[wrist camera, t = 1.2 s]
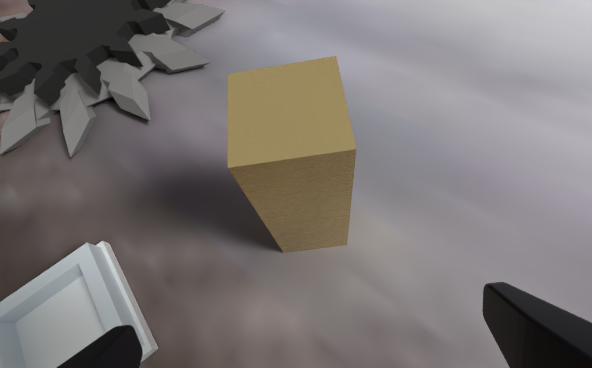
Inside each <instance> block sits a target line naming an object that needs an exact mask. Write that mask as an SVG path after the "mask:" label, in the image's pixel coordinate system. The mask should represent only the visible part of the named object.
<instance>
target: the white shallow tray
mask: <svg viewBox="0 0 592 368" xmlns="http://www.w3.org/2000/svg"><path fill="white" fill-rule="evenodd" d="M122 325H132V326H133V327H134V329H135V331H136V334H137V336H138V339H139V341H140V344H141V346H142V351H143V355H142V360H141V362H142V361H144V360H145V359H146V358H147V357H149V356H150V355H151V354H152V353H154V352H155V351H156V350H157V349H159V348H158V346H157V344H156V342H155V340H154V338H153V336H152V334H151V331H150V329H149V327H148V325H147V323H146V321H145V319H144V316H143V314H142V312H141V310H140V308H139V306H138V304H137V301H136V299H135V297H134V295H133V293H132V291H131V289H130V287H129V284H128V282H127V280H126V278H125V276H124V274H123V272H122V269H121V267H120V265H119V263H118V261H117V259H116V257H115V254H114V252H113V250H112V248H111V246H110V244H109V243H107V242H104V241H101V242H100V243H98V244H97V245H96V246H95V245H92V244H90V243H86V244H84V245H83V246H81V247H80V248H78V249H77V250H76V251H74V252H73V253H71V254H70V255H68V256H67V257H65V258H64V259H62V260H61V261H59V262H58V263H57V264H55V265H54V266H52V267H51V268H49V269H48V270H46V271H45V272H43V273H42V274H40V275H39V276H38V277H36V278H35V279H33V280H32V281H30V282H29V283H27V284H26V285H24V286H23V287H22V288H20V289H19V290H17V291H16V292H14V293H13V294H11V295H10V296H8V297H7V298H5V299H4V300H3V301H1V302H0V368H57V367H58V366H59V365H61V364H62V363H64V362H65V361H67V360H68V359H69V358H71V357H72V356H74V355H75V354H76V353H78V352H79V351H81V350H82V349H84V348H85V347H86V346H88V345H89V344H91V343H92V342H94V341H95V340H96V339H98V338H99V337H101V336H102V335H103V334H105V333H106V332H108V331H109V330H111V329H112V328H114V327H116V326H122Z"/></svg>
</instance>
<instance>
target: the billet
mask: <svg viewBox="0 0 592 368" xmlns="http://www.w3.org/2000/svg"><path fill="white" fill-rule="evenodd" d="M355 156H356V146H355V142H354V137H353V132H352V128H351V123H350V118H349V114H348V109H347V105H346V100H345V95H344V91H343V86H342V81H341V77H340V72H339V67H338V63H337V58H336V56H334V57H328V58H322V59H316V60H310V61H304V62H298V63H292V64H286V65H280V66H274V67H268V68H262V69H256V70H250V71H244V72H238V73H232V74H228V169H229V171H230V172H231V174H232V175H233V177H234V178H235V180H236V181H237V183H238V184H239V186H240V187H241V189H242V190H243V192H244V193H245V195H246V196H247V198H248V199H249V201H250V202H251V204H252V206H253V207H254V209H255V210H256V212H257V213H258V215H259V216H260V218H261V219H262V221H263V222H264V224H265V225H266V227H267V228H268V230H269V231H270V233H271V234H272V236H273V238H274V239H275V241H276V242H277V244H278V245H279V247H280V248H281V250H282V251H283V253H286V252H294V251H302V250H310V249H318V248H326V247H333V246H341V245H347V239H348V228H349V218H350V208H351V197H352V187H353V177H354V166H355Z"/></svg>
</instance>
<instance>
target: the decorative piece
mask: <svg viewBox="0 0 592 368" xmlns="http://www.w3.org/2000/svg"><path fill="white" fill-rule="evenodd" d="M186 1H187V0H28V3H29V5H30V6H31V7H32V8H33V9H34V10H33V11H32V12H31V13H29V14H28V15H26V13H25V12H24V13H20V14H15V15H11V16H6V17H2V18H0V33H1V34H2V35H3V36H4V37H5V38H6V39H8V40H10V41H11V42H1V43H0V112H3V111H7V110H10V112H9V114H8V117H7V119H6V121H5V123H4V125H3V128H2V132H1V147H0V154H2V153H5V152H7V151H10V150H12V149H15V148H17V147H20V146H21V145H22V144H23V143H25V142H26V141H27V140H29V139H30V138H31V137H33V136H34V135H35V134H37V133H38V132H39V131H41V130H42V129H43V128H45V127H46V126H47V125H49V124H50V117H51V116H53V115H54V114H55V113H57V112H58V111H59V110H60V113H61V119H62V126H63V132H64V136H65V140H66V143H67V147H68V151H69V154H70V158H71V157H72V156H73V155H74V154H75V153H76V152H77V151H79V150H80V149H81V147H82V145H83V143H84V141H85V139H86V137H87V135H88V133H89V131H90V129H91V127H92V125H93V122H94V120H95V118H96V114H95V112H94V111H93V105H96V104H98V103H100V102H103V101H105V100H107V99H110V98H112V97H113V98H114V99H115V101H116V102H117V104H118V105H119V107H120V108H121V109H123V110H126V111H128V112H131V113H133V114H135V115H138V116H140V117H142V118H145V119H147V120H150V112H149V104H148V95H147V90H146V89H145V88H144V87H143V86H142V85H141V84H140V83H139V81H140V80H141V79H143V78H144V77H145V76H146V75H147V74H149V73H150V72H151V71H152V70H153V69H155V68H157V69H165V70H166V71H167V73H168V74H170V73H175V72H179V71H184V70H189V69H194V68H199V67H202V66H204V65H206V64H208V63H210V62H209V61H207V60H205V59H204V58H202V57H201V56H199V55H197V54H196V53H194V52H192V51H191V50H189V49H188V48H186V47H184V46H183V45H181V44H179V43H177V42H176V41H174V40H172V39H171V37H173V36H175V35H180V36H183V37H188V36H190V35H192V34H193V33H195V32H197V31H199V30H201V29H202V28H204V27H206V26H208V25H210V24H211V23H213V22H215V21H216V20H217V19H218V18H219V17H220V16H221V15H222V14H223V13H224V12H225V11H224V10H221V9H217V8H214V7H210V6H207V5H204V4H189V3H185V2H186Z"/></svg>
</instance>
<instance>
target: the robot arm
mask: <svg viewBox="0 0 592 368" xmlns="http://www.w3.org/2000/svg"><path fill="white" fill-rule="evenodd" d="M483 316H484V319H485V321H486V323H487V325H488V327H489V329H490V331H491V333H492V335H493V337H494V339H495V340H496V342H497V344H498V346H499V348H500V350H501V352H502V354H503V356H504V358H505V359H506V361H507V363H508V365H509V367H510V368H592V323H591V322H589V321H587V320H585V319H583V318H580V317H578V316H576V315H574V314H572V313H570V312H567V311H565V310H563V309H561V308H559V307H557V306H554V305H552V304H550V303H548V302H546V301H544V300H542V299H539V298H537V297H535V296H533V295H531V294H529V293H526V292H524V291H522V290H520V289H518V288H516V287H514V286H511V285H509V284H507V283H505V282H496V283H488V284H486V285H485V286H484V290H483ZM142 355H143V351H142V346H141V344H140V341H139V339H138V336H137V334H136V331H135V329H134V327H133V326H132V325H122V326H116V327H114V328H112V329H111V330H109V331H108V332H106V333H105V334H103V335H102V336H101V337H99V338H98V339H96V340H95V341H94V342H92V343H91V344H89V345H88V346H86V347H85V348H84V349H82V350H81V351H79V352H78V353H76V354H75V355H74V356H72V357H71V358H69V359H68V360H67V361H65V362H64V363H62V364H61V365H59V366H58V367H57V368H139V366H140V363H141V360H142Z"/></svg>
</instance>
